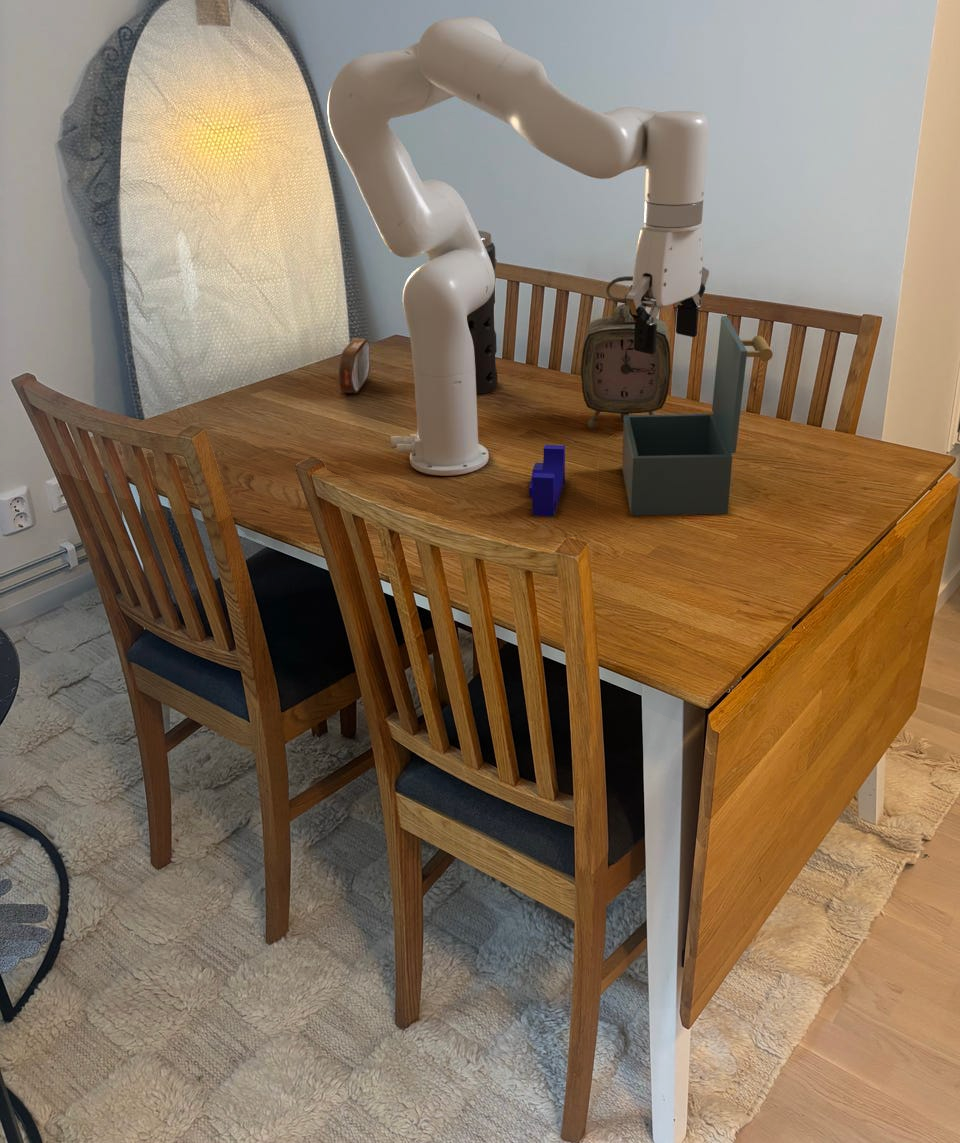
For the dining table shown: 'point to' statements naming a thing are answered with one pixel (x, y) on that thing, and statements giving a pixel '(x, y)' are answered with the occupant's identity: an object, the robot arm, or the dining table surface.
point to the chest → (675, 465)
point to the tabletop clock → (623, 365)
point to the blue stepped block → (548, 481)
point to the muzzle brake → (485, 333)
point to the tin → (354, 365)
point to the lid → (733, 378)
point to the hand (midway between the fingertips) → (665, 343)
